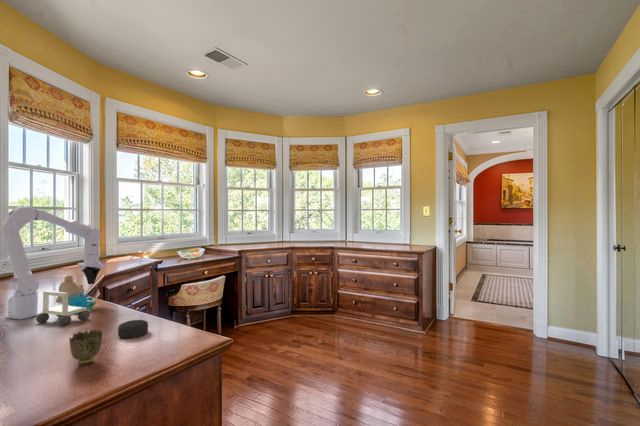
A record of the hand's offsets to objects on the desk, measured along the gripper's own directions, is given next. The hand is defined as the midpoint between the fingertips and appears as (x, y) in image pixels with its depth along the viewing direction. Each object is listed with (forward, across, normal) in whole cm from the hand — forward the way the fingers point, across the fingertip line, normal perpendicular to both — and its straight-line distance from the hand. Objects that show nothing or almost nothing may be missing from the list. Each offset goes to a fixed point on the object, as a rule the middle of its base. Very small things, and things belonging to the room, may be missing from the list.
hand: (91, 283), depth 148 cm
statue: (+10, +18, -3) cm, 20 cm away
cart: (+9, -13, +21) cm, 26 cm away
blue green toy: (+10, -7, +10) cm, 15 cm away
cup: (+10, -56, +45) cm, 72 cm away
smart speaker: (+10, -50, +24) cm, 56 cm away
